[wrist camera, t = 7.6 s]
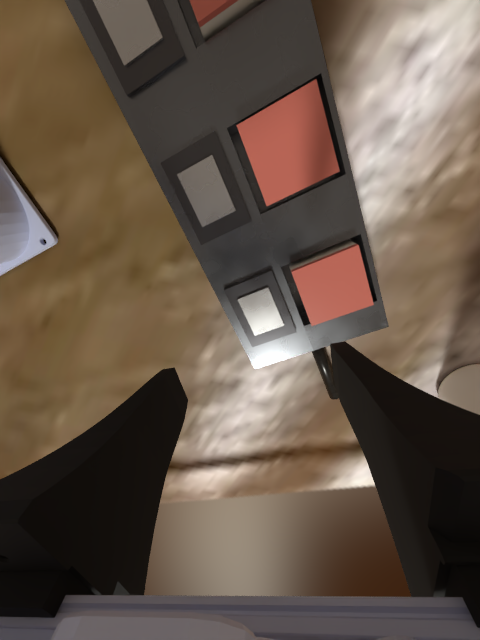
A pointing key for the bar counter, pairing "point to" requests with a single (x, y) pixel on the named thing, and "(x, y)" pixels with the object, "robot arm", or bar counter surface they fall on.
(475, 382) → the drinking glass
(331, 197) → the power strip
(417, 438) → the robot arm
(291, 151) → the button
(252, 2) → the button
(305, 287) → the button
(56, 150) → the bar counter surface
